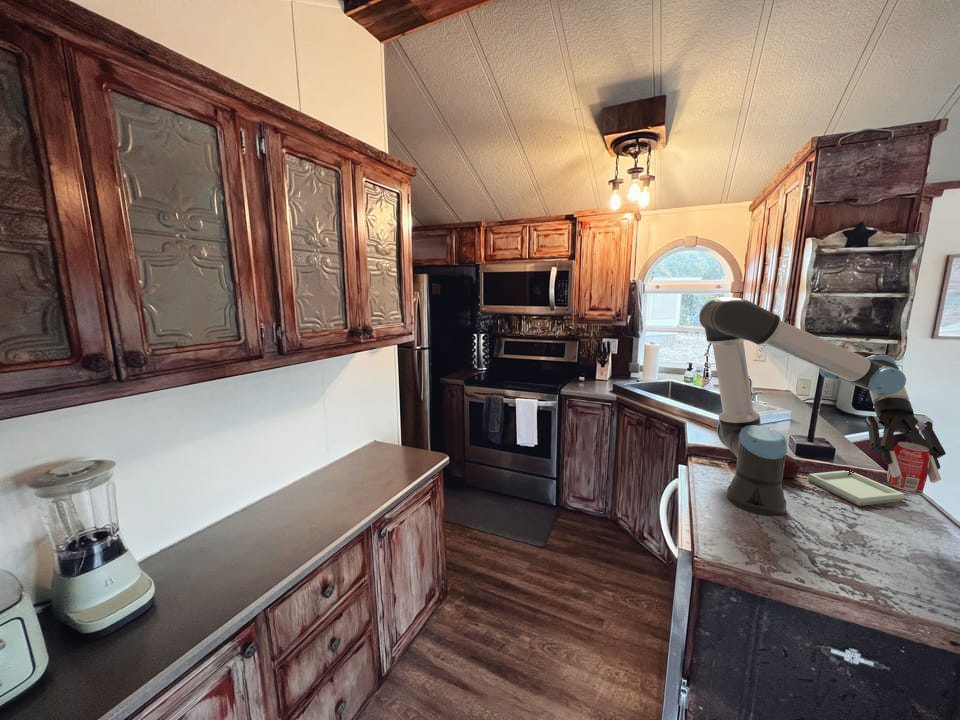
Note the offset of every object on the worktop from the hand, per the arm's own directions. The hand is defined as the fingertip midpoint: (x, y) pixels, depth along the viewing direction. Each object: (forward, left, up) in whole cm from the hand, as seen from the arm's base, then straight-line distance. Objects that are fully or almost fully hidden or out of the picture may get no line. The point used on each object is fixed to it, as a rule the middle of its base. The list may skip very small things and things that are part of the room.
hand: (915, 478), depth 100 cm
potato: (-5, +34, -17) cm, 38 cm away
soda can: (+2, +3, -5) cm, 6 cm away
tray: (+10, +21, -16) cm, 29 cm away
